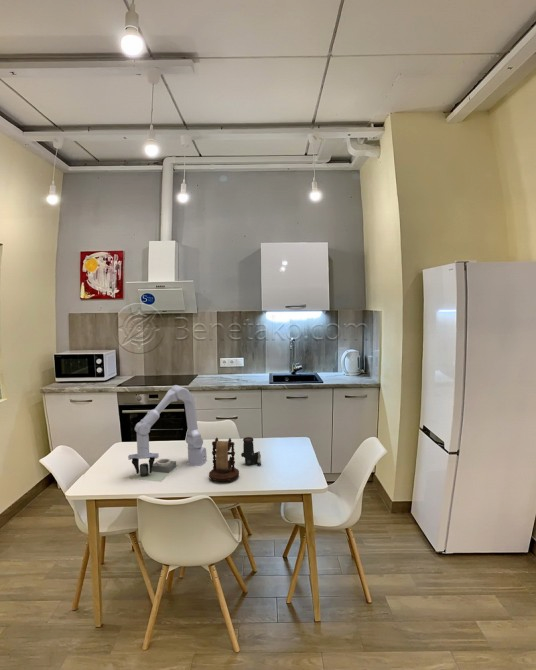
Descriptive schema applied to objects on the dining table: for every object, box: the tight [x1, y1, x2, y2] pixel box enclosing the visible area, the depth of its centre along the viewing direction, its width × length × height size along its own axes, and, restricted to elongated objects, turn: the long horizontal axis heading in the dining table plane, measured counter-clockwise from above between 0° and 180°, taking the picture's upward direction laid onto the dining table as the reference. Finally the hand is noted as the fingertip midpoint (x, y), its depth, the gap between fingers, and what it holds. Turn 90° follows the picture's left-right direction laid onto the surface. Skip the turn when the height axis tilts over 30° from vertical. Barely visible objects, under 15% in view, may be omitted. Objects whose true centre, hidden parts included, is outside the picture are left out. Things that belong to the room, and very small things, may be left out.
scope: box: [240, 436, 262, 466], centre depth 221 cm, size 8×14×10 cm
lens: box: [139, 462, 149, 477], centre depth 208 cm, size 4×4×6 cm
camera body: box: [152, 458, 177, 473], centre depth 215 cm, size 10×8×4 cm
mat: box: [129, 462, 180, 483], centre depth 212 cm, size 17×20×1 cm
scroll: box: [208, 437, 240, 483], centre depth 204 cm, size 15×15×20 cm
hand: (144, 472), depth 208 cm, fingers open, 6 cm apart
